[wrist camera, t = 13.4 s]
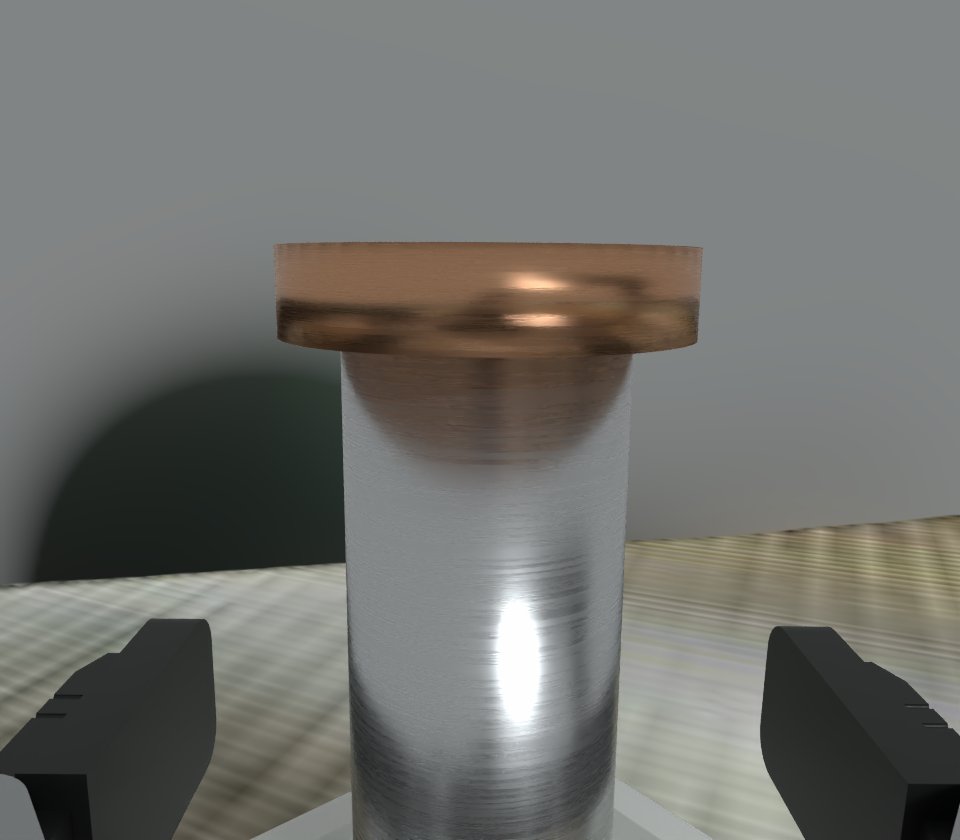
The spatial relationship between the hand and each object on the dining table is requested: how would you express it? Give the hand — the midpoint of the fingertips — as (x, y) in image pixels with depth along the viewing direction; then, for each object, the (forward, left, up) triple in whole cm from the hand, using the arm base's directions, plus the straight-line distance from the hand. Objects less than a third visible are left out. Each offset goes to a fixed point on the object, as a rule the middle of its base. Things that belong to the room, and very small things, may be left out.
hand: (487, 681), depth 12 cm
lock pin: (+1, +1, -11) cm, 11 cm away
